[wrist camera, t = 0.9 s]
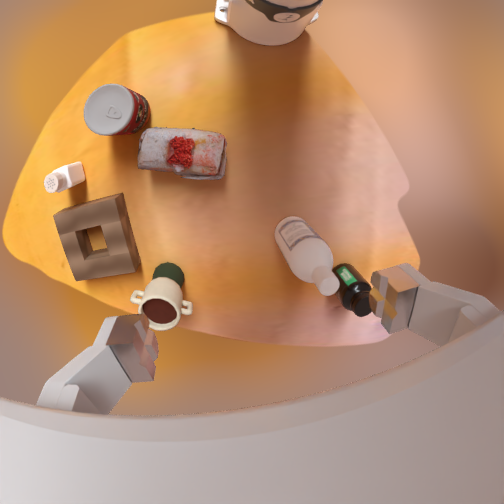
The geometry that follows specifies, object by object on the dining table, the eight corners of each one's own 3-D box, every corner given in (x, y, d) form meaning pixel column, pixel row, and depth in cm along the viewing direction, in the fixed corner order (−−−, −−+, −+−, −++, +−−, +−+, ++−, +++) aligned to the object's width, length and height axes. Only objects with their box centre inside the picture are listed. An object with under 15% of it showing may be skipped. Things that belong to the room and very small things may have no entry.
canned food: (145, 137, 41) (125, 139, 31) (105, 131, 40) (78, 132, 30) (156, 96, 39) (139, 85, 29) (116, 91, 37) (90, 81, 27)
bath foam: (304, 250, 54) (345, 308, 36) (271, 248, 53) (299, 309, 35) (311, 217, 51) (359, 264, 33) (276, 213, 50) (311, 261, 32)
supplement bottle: (330, 262, 56) (355, 292, 45) (357, 262, 57) (385, 290, 46) (324, 289, 59) (345, 322, 48) (350, 288, 60) (374, 319, 49)
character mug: (141, 284, 53) (126, 323, 41) (145, 253, 50) (127, 289, 38) (192, 295, 55) (188, 337, 44) (199, 265, 53) (195, 303, 41)
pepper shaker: (66, 167, 41) (39, 176, 32) (82, 160, 41) (56, 167, 32) (71, 186, 42) (45, 198, 34) (87, 180, 42) (62, 191, 34)
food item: (228, 131, 43) (231, 130, 34) (222, 176, 46) (224, 186, 37) (150, 126, 41) (134, 125, 32) (146, 170, 44) (130, 180, 35)
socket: (64, 208, 44) (53, 215, 40) (122, 192, 45) (114, 198, 41) (84, 270, 50) (75, 281, 46) (140, 261, 51) (135, 272, 47)
